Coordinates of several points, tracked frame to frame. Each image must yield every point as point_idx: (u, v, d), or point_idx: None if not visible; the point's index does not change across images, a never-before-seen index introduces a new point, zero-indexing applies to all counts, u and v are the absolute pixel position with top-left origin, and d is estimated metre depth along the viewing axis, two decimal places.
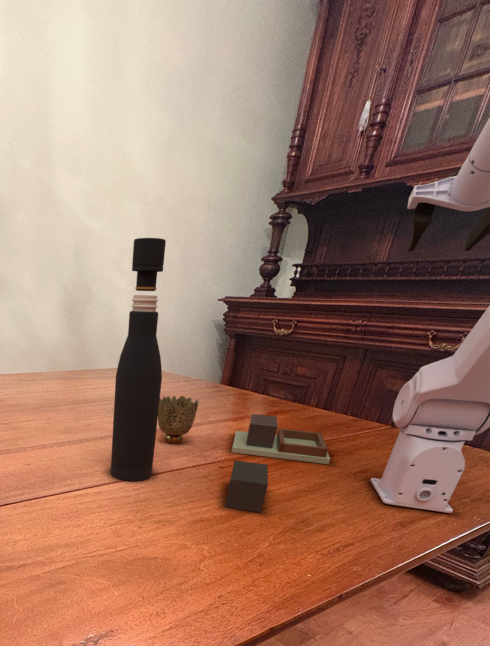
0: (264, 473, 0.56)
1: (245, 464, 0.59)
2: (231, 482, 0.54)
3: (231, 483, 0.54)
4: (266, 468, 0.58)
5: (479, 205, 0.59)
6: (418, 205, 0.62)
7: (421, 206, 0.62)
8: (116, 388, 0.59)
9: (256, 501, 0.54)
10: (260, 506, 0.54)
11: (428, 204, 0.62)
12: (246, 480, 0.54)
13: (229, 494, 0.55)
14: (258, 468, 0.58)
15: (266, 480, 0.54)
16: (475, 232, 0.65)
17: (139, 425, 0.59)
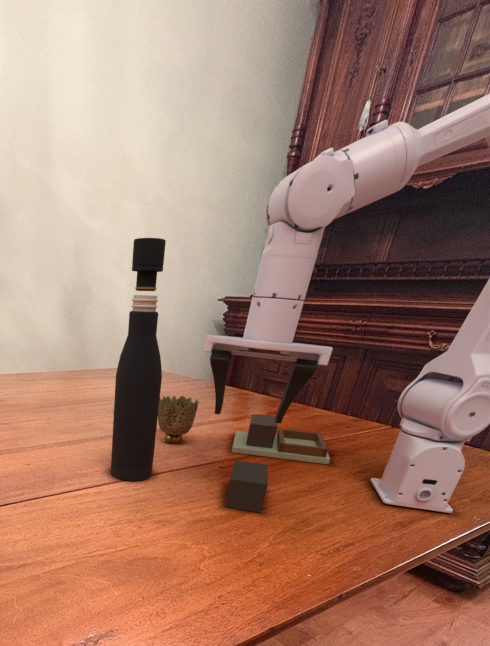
0: (264, 473, 0.56)
1: (245, 464, 0.59)
2: (231, 482, 0.54)
3: (231, 483, 0.54)
4: (266, 468, 0.58)
5: (274, 343, 0.49)
6: (213, 350, 0.53)
7: (217, 351, 0.53)
8: (116, 388, 0.59)
9: (256, 501, 0.54)
10: (260, 506, 0.54)
11: (223, 350, 0.53)
12: (246, 480, 0.54)
13: (229, 494, 0.55)
14: (258, 468, 0.58)
15: (266, 480, 0.54)
16: (281, 402, 0.54)
17: (139, 425, 0.59)
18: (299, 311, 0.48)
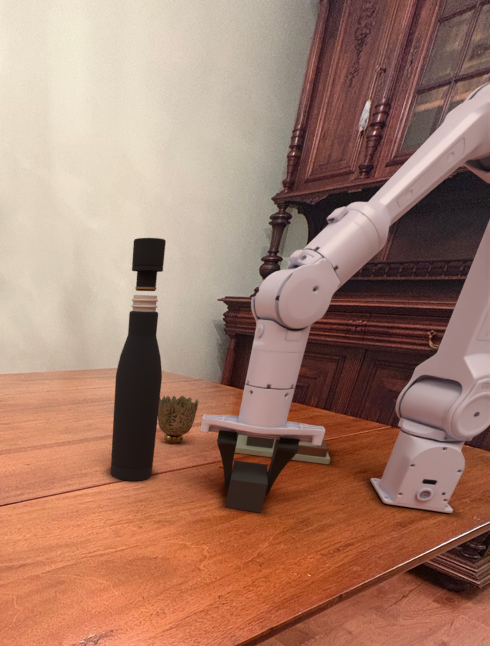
0: (264, 473, 0.56)
1: (245, 464, 0.59)
2: (230, 482, 0.54)
3: (231, 483, 0.54)
4: (266, 468, 0.58)
5: (268, 428, 0.51)
6: (220, 431, 0.55)
7: (223, 433, 0.55)
8: (116, 388, 0.59)
9: (255, 501, 0.54)
10: (260, 506, 0.54)
11: (230, 432, 0.55)
12: (246, 480, 0.54)
13: (229, 494, 0.55)
14: (258, 468, 0.58)
15: (266, 480, 0.54)
16: (268, 475, 0.56)
17: (139, 425, 0.59)
18: (291, 397, 0.50)
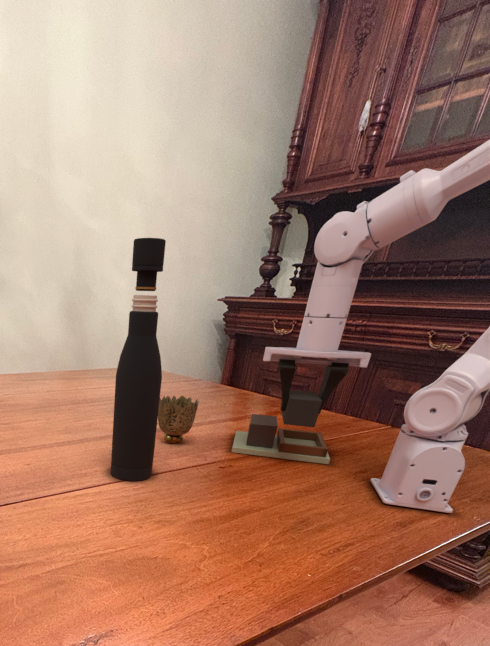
0: (316, 396, 0.67)
1: (297, 391, 0.70)
2: (290, 401, 0.65)
3: (290, 402, 0.65)
4: (316, 393, 0.69)
5: (324, 352, 0.62)
6: (280, 359, 0.66)
7: (283, 361, 0.66)
8: (116, 388, 0.59)
9: (311, 417, 0.65)
10: (314, 421, 0.66)
11: (289, 359, 0.66)
12: (303, 398, 0.65)
13: (288, 412, 0.66)
14: (310, 393, 0.69)
15: (319, 399, 0.65)
16: None
17: (139, 425, 0.59)
18: (343, 326, 0.61)
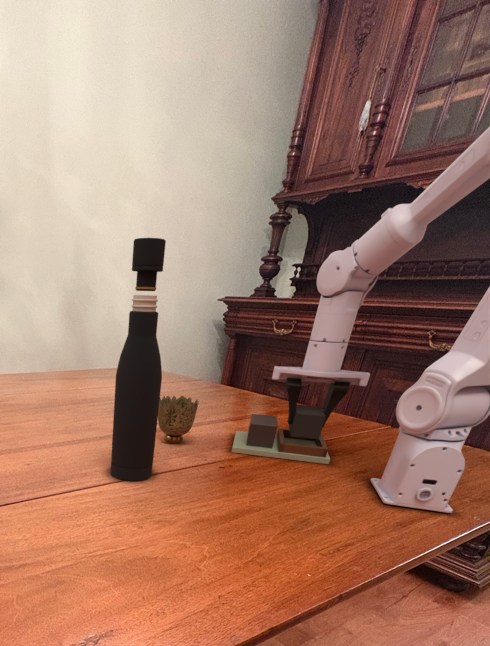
0: (320, 410, 0.74)
1: (303, 406, 0.77)
2: (296, 416, 0.72)
3: (297, 416, 0.72)
4: (320, 408, 0.76)
5: (328, 373, 0.69)
6: (288, 378, 0.73)
7: (290, 379, 0.73)
8: (116, 388, 0.59)
9: (315, 430, 0.72)
10: (318, 434, 0.72)
11: (296, 378, 0.73)
12: (308, 413, 0.72)
13: (295, 425, 0.73)
14: (315, 408, 0.76)
15: (323, 414, 0.72)
16: None
17: (139, 425, 0.59)
18: (345, 349, 0.68)
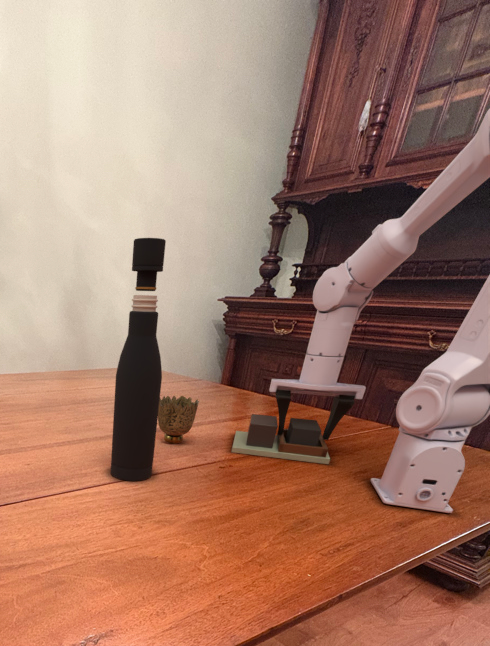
0: (316, 425, 0.75)
1: (300, 420, 0.78)
2: (293, 430, 0.74)
3: (293, 431, 0.74)
4: (316, 422, 0.77)
5: (324, 386, 0.70)
6: (277, 390, 0.74)
7: (280, 391, 0.74)
8: (116, 388, 0.59)
9: (311, 444, 0.74)
10: None
11: (285, 390, 0.74)
12: (304, 428, 0.73)
13: (291, 440, 0.74)
14: (311, 422, 0.77)
15: (319, 428, 0.73)
16: (328, 425, 0.75)
17: (139, 425, 0.59)
18: (341, 363, 0.69)
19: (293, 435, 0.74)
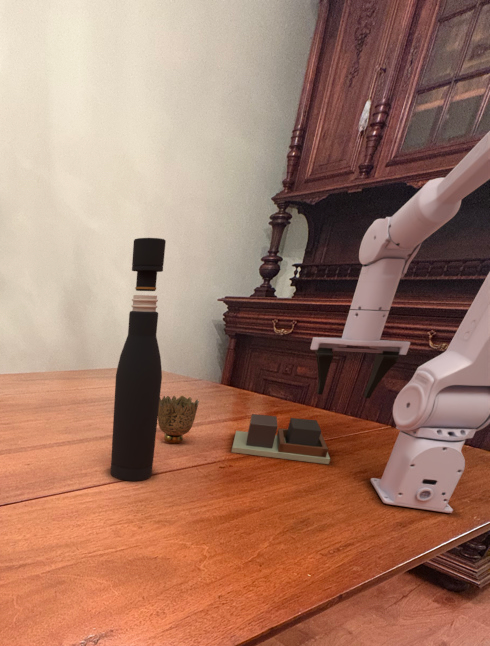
0: (316, 425, 0.75)
1: (300, 420, 0.78)
2: (293, 430, 0.74)
3: (293, 431, 0.74)
4: (316, 422, 0.77)
5: (368, 341, 0.70)
6: (319, 348, 0.74)
7: (322, 349, 0.74)
8: (116, 388, 0.59)
9: (311, 444, 0.74)
10: None
11: (327, 348, 0.74)
12: (304, 428, 0.73)
13: (291, 440, 0.74)
14: (311, 422, 0.77)
15: (319, 428, 0.73)
16: (370, 383, 0.75)
17: (139, 425, 0.59)
18: (386, 318, 0.69)
19: (293, 435, 0.74)
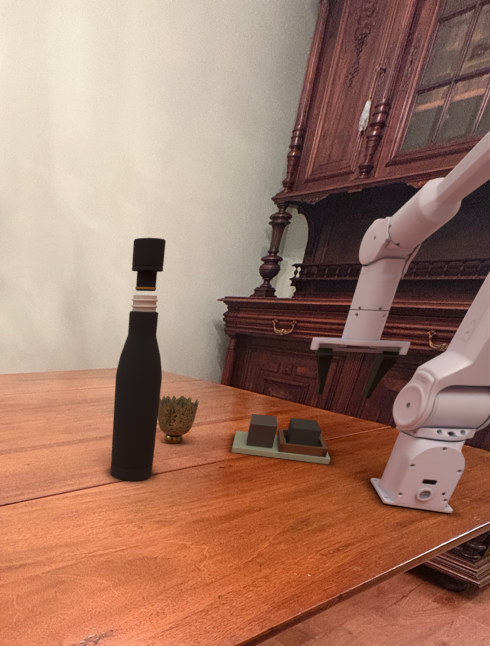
0: (316, 425, 0.75)
1: (300, 420, 0.78)
2: (293, 430, 0.74)
3: (293, 431, 0.74)
4: (316, 422, 0.77)
5: (368, 341, 0.70)
6: (319, 348, 0.74)
7: (322, 349, 0.74)
8: (116, 388, 0.59)
9: (311, 444, 0.74)
10: None
11: (327, 348, 0.74)
12: (304, 428, 0.73)
13: (291, 440, 0.74)
14: (311, 422, 0.77)
15: (319, 428, 0.73)
16: (370, 383, 0.75)
17: (139, 425, 0.59)
18: (386, 318, 0.69)
19: (293, 435, 0.74)
